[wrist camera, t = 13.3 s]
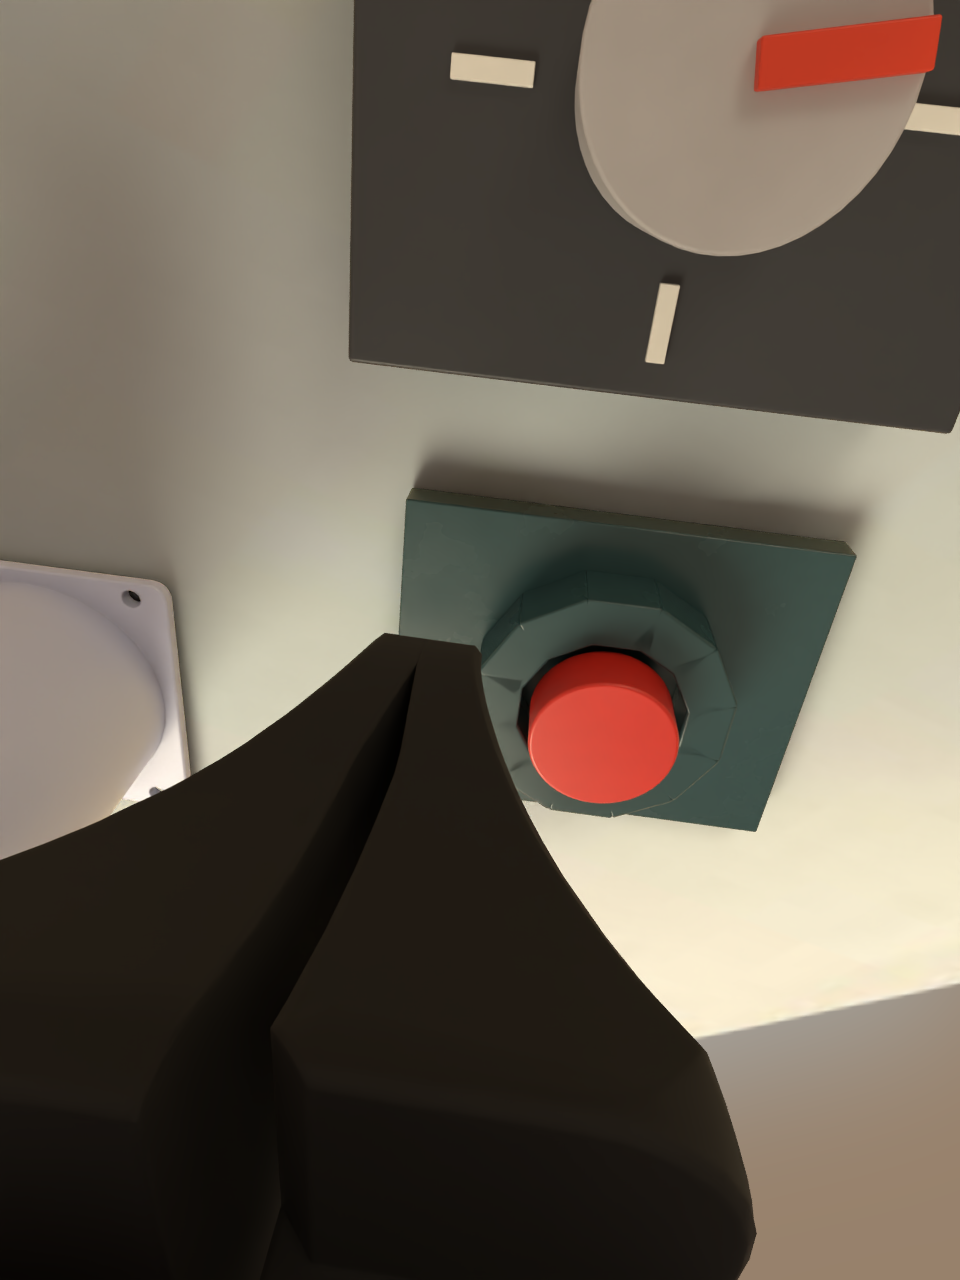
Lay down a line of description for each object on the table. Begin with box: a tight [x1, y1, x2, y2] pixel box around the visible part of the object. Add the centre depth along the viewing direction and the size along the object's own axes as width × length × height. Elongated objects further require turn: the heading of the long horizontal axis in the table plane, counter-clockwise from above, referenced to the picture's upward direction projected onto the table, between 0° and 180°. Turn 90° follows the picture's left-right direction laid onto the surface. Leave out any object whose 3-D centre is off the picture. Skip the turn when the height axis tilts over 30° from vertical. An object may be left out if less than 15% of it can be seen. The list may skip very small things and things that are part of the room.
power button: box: [528, 651, 679, 803], centre depth 20 cm, size 4×4×2 cm
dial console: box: [349, 0, 960, 434], centre depth 15 cm, size 12×10×3 cm
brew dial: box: [575, 0, 942, 256], centre depth 12 cm, size 4×4×4 cm
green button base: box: [399, 488, 856, 832], centre depth 21 cm, size 11×9×3 cm
